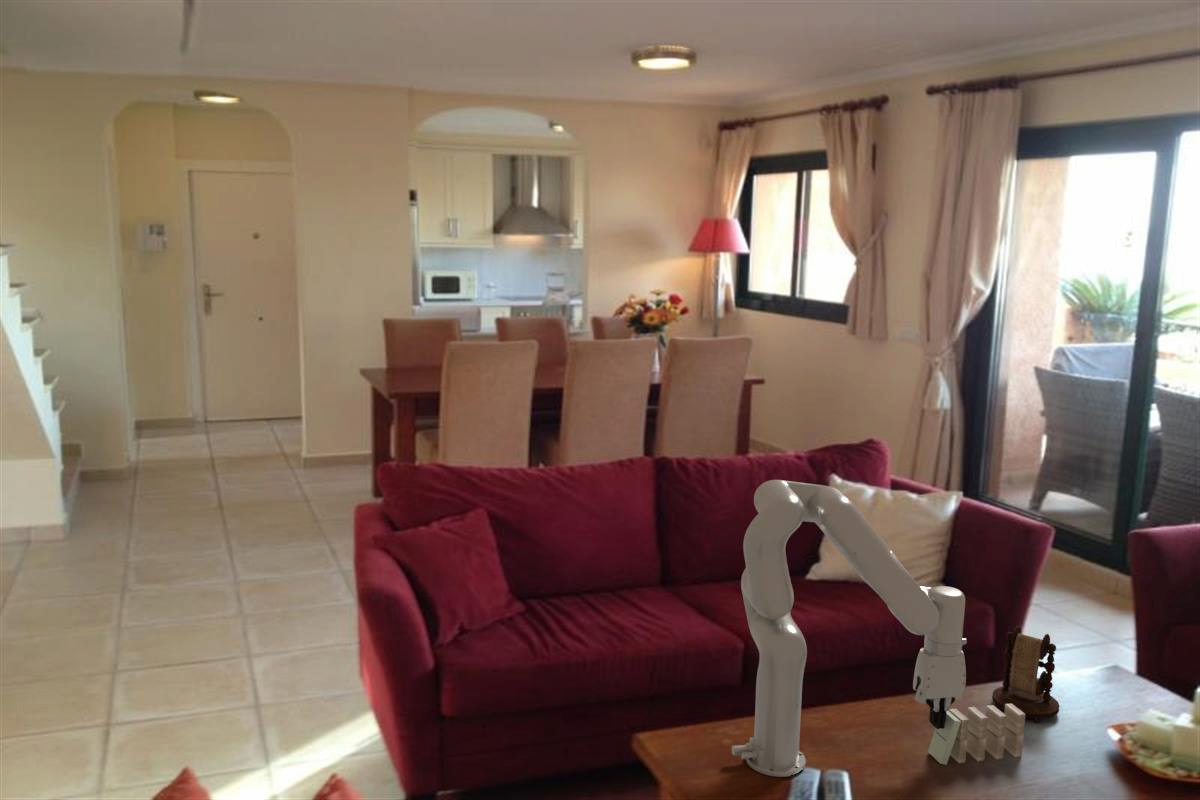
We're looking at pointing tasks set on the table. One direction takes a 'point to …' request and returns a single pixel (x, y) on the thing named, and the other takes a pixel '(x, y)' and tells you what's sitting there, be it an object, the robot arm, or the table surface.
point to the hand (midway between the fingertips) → (937, 725)
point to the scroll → (1027, 676)
